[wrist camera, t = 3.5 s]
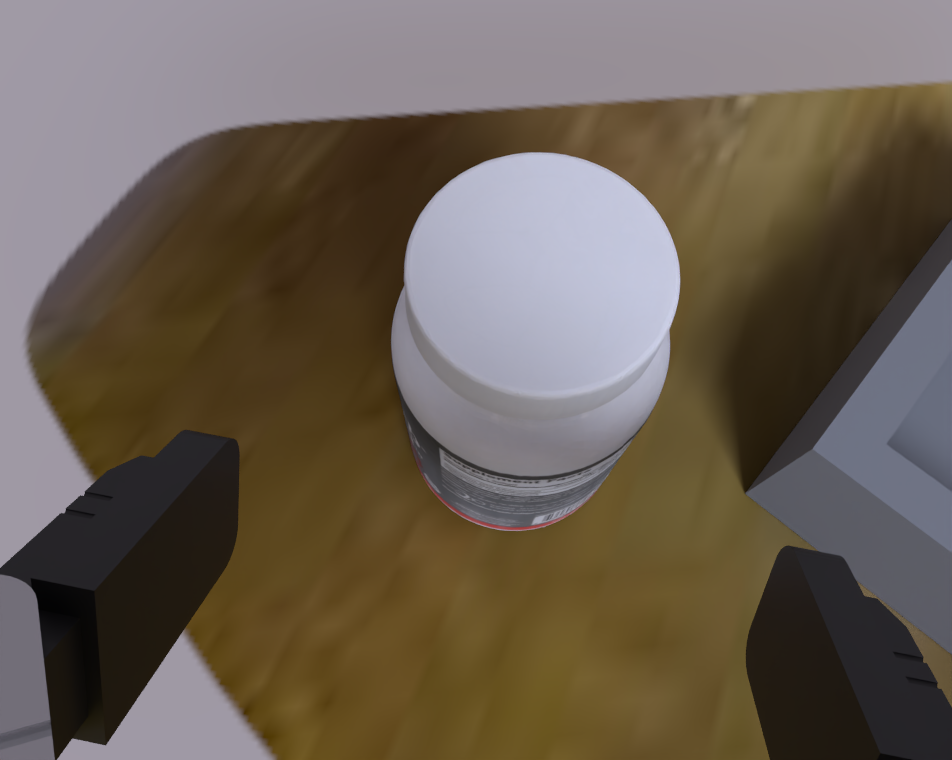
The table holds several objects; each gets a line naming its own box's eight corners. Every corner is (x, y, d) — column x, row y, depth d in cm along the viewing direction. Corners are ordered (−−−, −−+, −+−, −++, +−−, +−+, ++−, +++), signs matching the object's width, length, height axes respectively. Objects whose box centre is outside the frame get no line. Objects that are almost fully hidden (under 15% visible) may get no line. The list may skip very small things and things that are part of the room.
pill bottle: (429, 331, 23) (407, 102, 14) (618, 357, 23) (721, 143, 14) (395, 520, 21) (341, 398, 12) (601, 550, 21) (709, 449, 12)
